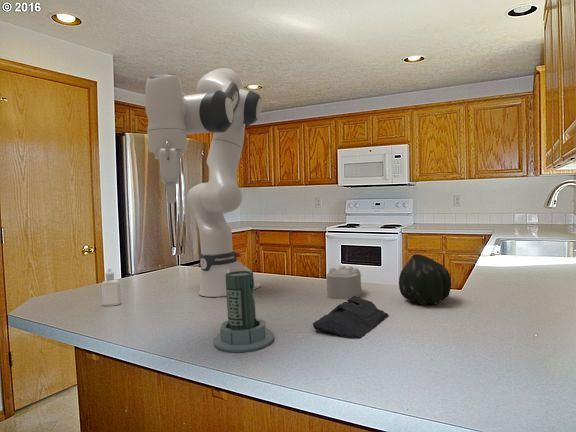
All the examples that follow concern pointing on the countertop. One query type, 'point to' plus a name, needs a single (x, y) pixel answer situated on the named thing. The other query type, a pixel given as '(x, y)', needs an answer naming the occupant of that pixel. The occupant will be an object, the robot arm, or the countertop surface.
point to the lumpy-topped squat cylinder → (343, 283)
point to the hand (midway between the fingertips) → (171, 202)
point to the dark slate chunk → (352, 318)
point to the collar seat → (243, 338)
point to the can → (240, 300)
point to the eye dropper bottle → (110, 290)
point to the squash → (424, 280)
